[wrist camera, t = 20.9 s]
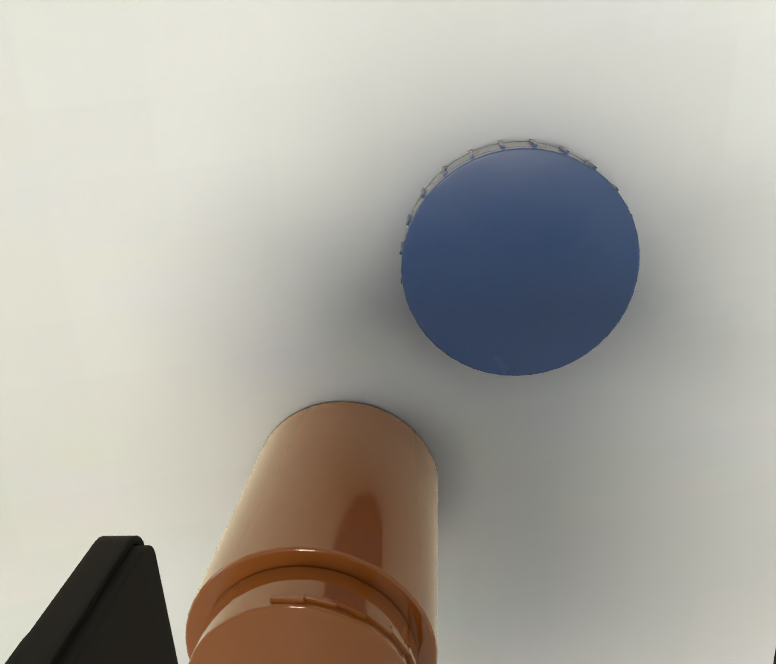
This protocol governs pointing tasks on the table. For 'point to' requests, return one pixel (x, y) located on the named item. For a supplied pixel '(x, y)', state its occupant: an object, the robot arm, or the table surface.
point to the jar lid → (519, 258)
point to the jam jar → (327, 549)
